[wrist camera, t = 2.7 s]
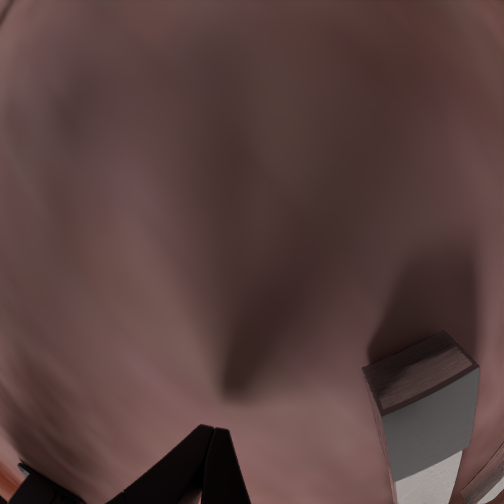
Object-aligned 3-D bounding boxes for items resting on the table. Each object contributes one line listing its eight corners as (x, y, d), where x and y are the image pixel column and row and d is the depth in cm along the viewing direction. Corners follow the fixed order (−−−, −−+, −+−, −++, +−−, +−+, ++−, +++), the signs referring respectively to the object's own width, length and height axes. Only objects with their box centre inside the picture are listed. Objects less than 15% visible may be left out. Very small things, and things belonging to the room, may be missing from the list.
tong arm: (436, 521, 10) (442, 540, 8) (389, 539, 10) (393, 559, 8) (457, 322, 6) (495, 356, 5) (344, 374, 7) (359, 424, 5)
